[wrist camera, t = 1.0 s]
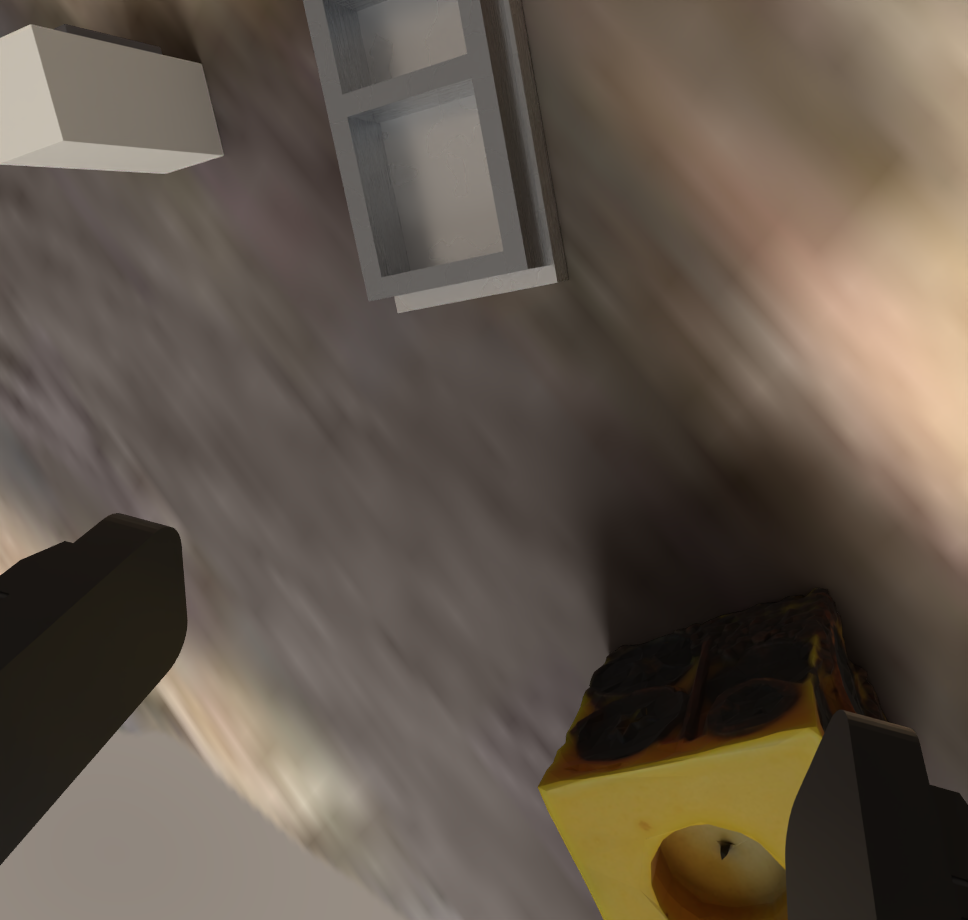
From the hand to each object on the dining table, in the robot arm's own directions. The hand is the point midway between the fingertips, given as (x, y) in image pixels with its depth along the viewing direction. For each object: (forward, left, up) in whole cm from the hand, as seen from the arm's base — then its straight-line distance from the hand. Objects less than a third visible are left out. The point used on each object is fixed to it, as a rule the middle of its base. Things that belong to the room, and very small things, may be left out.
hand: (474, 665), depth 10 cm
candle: (+12, +10, -26) cm, 30 cm away
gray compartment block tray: (-3, -17, -25) cm, 30 cm away
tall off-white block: (+6, -27, -25) cm, 37 cm away
